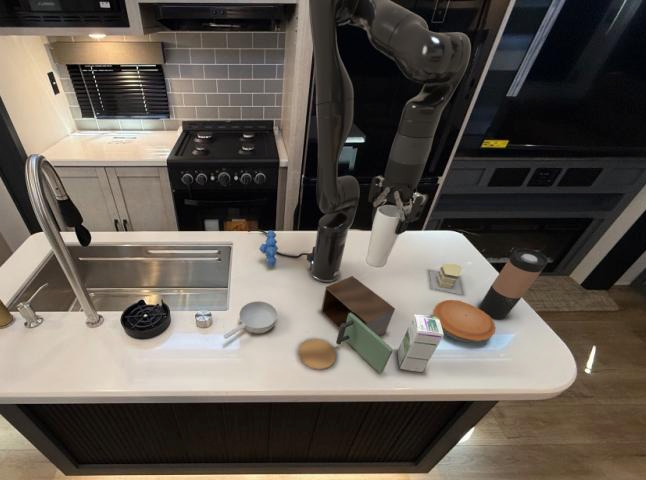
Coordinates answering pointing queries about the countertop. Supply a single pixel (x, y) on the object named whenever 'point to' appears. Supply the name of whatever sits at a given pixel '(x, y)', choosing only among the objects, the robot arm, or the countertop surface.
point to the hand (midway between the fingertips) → (386, 226)
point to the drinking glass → (383, 235)
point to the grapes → (270, 248)
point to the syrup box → (419, 342)
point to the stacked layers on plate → (446, 278)
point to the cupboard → (356, 305)
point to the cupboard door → (365, 342)
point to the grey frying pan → (256, 318)
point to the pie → (464, 321)
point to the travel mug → (513, 282)
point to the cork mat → (317, 354)
